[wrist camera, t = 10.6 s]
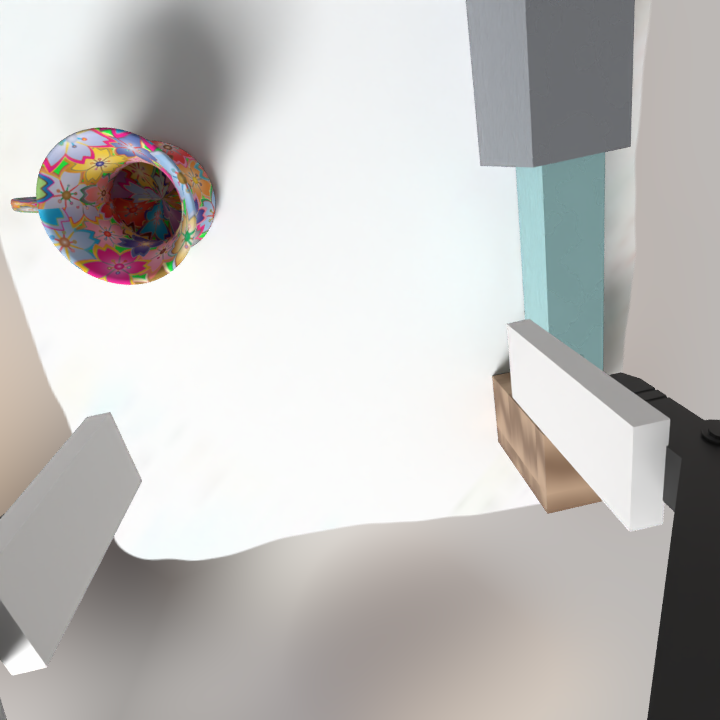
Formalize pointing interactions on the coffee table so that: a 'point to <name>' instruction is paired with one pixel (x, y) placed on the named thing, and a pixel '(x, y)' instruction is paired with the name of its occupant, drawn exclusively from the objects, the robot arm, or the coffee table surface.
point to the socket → (537, 455)
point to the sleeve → (551, 78)
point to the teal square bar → (565, 250)
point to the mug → (121, 204)
